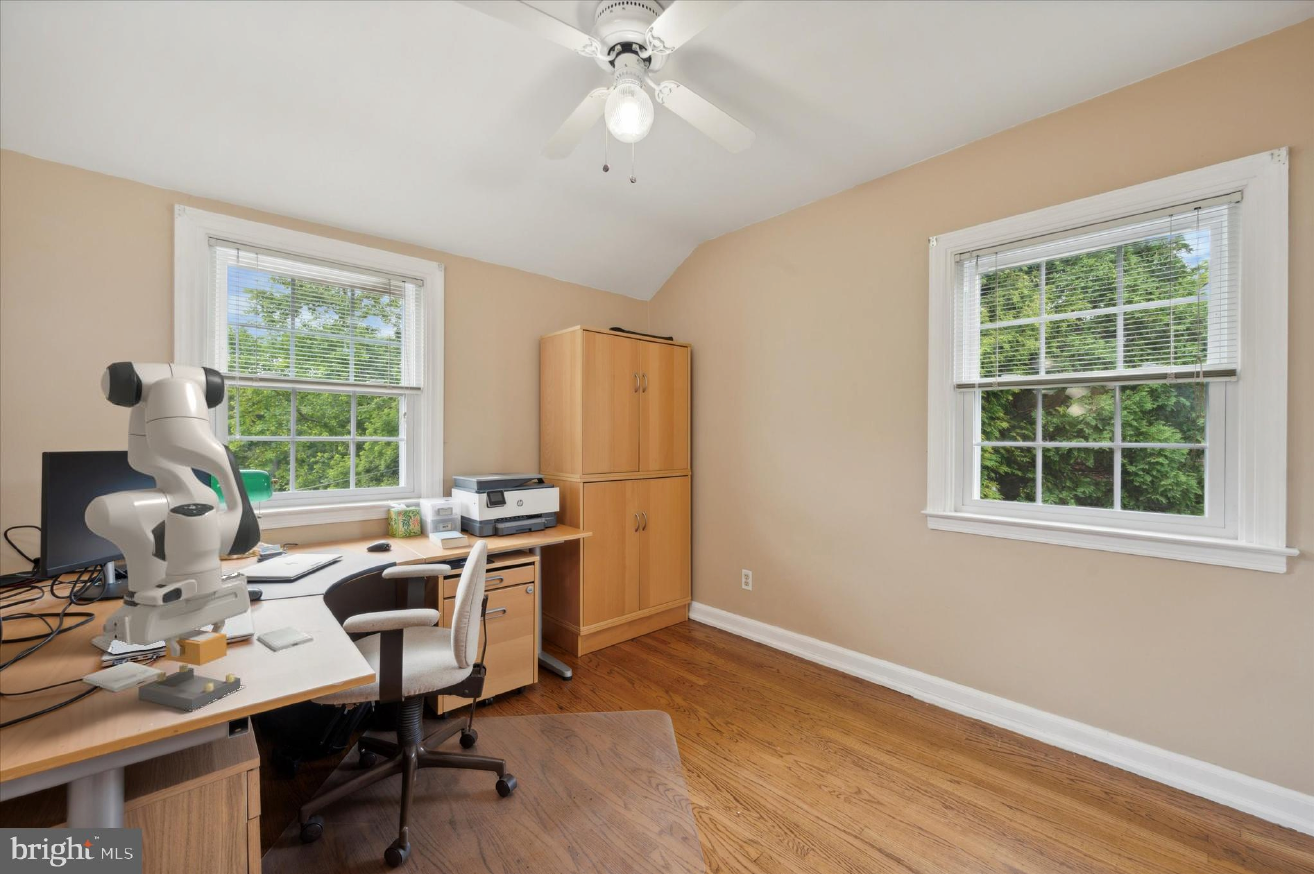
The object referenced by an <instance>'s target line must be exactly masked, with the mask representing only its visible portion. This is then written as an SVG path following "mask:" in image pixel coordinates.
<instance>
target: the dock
mask: <svg viewBox="0 0 1314 874" xmlns="http://www.w3.org/2000/svg"><path fill="white" fill-rule="evenodd" d="M194 672H195V671H194V668H193V667H189V664H187V663H182V664H181V665H179V666H178V671H177V672H173V673H171V674H169V675H167V672H163V673H159V674H157V677H156V680H153V681H151V682H150V681H149V682H148V683H145V684H143V685H140V686H138V699H139V700H142V701H147V702H151V703H155V704H159V705H163V704H164V705H163V706H169V707H172V708H175V709H179V708H181V709H180V710H183V709H186V710H185V711H187V710H191V711H190V712H192V711H193V710H195V709H197V708H199V709H201V708H202V707H201V706H204V705H206V704H208V703H209V702H212V701H213V700H215V699H219V698H220V697H223V696H224V695H227V694H228V693H231V692H233V691H235V690H237V689H239V688H240V686H245V685H244V684H241V678H240V677H235V673H227V674H226V675H225V680H220V679H216V678H215V679H214V678H210V677H206V676H201V675H197V674H195V673H194ZM241 688H242V687H241ZM227 696H228V695H227ZM223 698H224V697H223ZM219 700H220V699H219ZM212 703H213V702H212ZM208 705H209V704H208ZM206 706H207V705H206ZM200 707H201V708H200ZM204 707H205V706H204ZM197 710H198V709H197ZM195 711H196V710H195ZM193 712H194V711H193Z"/></svg>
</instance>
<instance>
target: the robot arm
mask: <svg viewBox="0 0 1314 874" xmlns="http://www.w3.org/2000/svg"><path fill="white" fill-rule="evenodd" d="M226 385H227V383H226V381H225V379H224V376H223V374H222V373H221V372H220V371H219V370H217V369H214V368H212V367H206V366H201V367H198V366H196V365H195V366H194V365H187V364H181V363H173V362H172V363H171V362H167V363H162V362H161V363H160V362H158V363H157V362H132V361H119V362H118V361H117V362H112V363H111V364H109V365H108V366H107V367H106V369H105V371H104V372H103V373H102V376H101V379H100V387H101V391H102V393H103V395H104V396H105V399H106V400H107V401H108V402H109V403H110V404H112V405H115V406H118V407H124V408H129V409H131V410H130V415H129V421H128V431H127V432H128V435H127V436H128V439H127V440H128V441H127V462H128V464H129V466H131V468H132V469H133V470H135V471H137V472H139V473H142V474H144V475H148V476H151V477H153V478H154V480H155V481H156V482H155V483H156V487H154V488H142V489H131V490H121V491H117V492H113V493H112V492H111V493H108V494H105V495H100V496H97V497H95V498H94V499H92V500H91V502H90V503H89V504H88V506H87V507H86V509H85V512H84V513H85V514H84V521H85V523H86V526H87V528H88V529H89V530H90V531H91V532H93V534H95V535H97V536H98V537H101V538H104V539H106V540H108V541H109V542H111V543H112V544H114V545H115V546H116V547H117V548H118V549H119V551H120V552H121V553H122V555H123V556H124V559H125V563H126V564H125V565H126V570H127V580H128V581H127V583H128V588H126V589H124V590H122V592H125V593H122V595H123V602H122V603H123V604H122V605H121V606H119V608H117V609H116V610H115V611H114V612H113V613H112V614H110V615H108V617H107V618H105V619H106V620H105V622H104V623H103V625H102V631H103V634H100V635H98V636H96V637H94V638H92V639H91V644H92V645H94V646H96V647H97V648H99V649H101V650H103V651H105V652H106V650H108V649H109V647H110V645H111V642H112V641H113V640H118V641H122V642H125V643H127V645H133V644H138V645H144V646H147V645H150V644H153V643H156V642H159V641H164V642H165V643H166V644H167V645H168V646H169V647H170V648H171V656H172V657H179V656H181V655H184V654H185V651H184V650H185V646H181V645H178V644H177V643H176V641H177V640H179V635H180V634H183V633H186V632H189V631H192V630H195V629H198V628H200V629H202V628H204V627H208V626H212V629H211V631H210V632H215V633H222V631H223V629H224V627H225V625H226V620H228V619H230V618H234V617H238V616H240V615H243V614H245V613H247V612H248V611H249V609H250V607H251V603H250V601H251V600H250V595H249V590H248V589H249V588H248V587H247V586H248V578H247V576H246V575H245V574H244V573H242V572H241V573H240V572H238V571H236V572H233V573H231V574H226V575H225V574H224V575H223V574H222V573H223V572H222V571H223V568H222V562H221V559H220V557H224V556H227V557H228V556H239V555H240V556H242V555H246V554H247V553H249V552H250V551H252V550H253V549H254V548H256V546H257V545H258V544H259V543H260V541H261V538H262V537H261V535H262V529H261V524H260V522H259V521H258V518H257V516H256V513H255V511H254V509H253V506H252V505H251V504H252V503H251V502H250V501H251V500H250V497H249V495H248V493H247V492H248V491H247V488H246V484H245V483H244V479H243V477H242V474H241V471H240V468H239V465H238V462H237V460H236V456H235V455H234V453H233V451H232V449H231V448H230V447H229V446H228V445H227V444H224V443H221V442H220V441H219V440H218V439H217V437H216V435H215V434H214V433H213V430H212V427H211V419H210V412H209V409H214V408H216V407H217V406H220V405H221V404H222V403H223V401H224V399H225V396H226V392H227V386H226ZM192 469H195V470H198V471H202V472H205V473H208V474H210V475H211V476H213V477H214V478H215V479H216V480H217V481H218V484H219V487H220V490H221V493H222V495H223V500H224V502H225V505H226V508H227V510H226V511H224V512H219V510H220V497H219V496H218V493H217V492H215V490H214V489H213V488H211V487H209V486H208V485H205V484H204V483H203V482H202V481H201V480H200V479H198V477H197V476H196V475H195V473H194V472H193V470H192ZM198 630H199V629H198Z"/></svg>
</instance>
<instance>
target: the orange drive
mask: <svg viewBox="0 0 1314 874" xmlns="http://www.w3.org/2000/svg"><path fill="white" fill-rule="evenodd" d="M176 643H177V644H178V645H181V646H185V650H184V651H185V654H184V655H181V656H179V657H172V656H171V648H170V647H169V646H168V645H167V644H166V643H165V646H166V647H165V660H167V661H173V662H178V663H182V664H188V665H194V666H198V667H201V666H204V665H206V664H208V663H211V662H215V661H216V660H219V659H222V658H224V657H227V655H228V652H227V651H228V650H227V648H228V647H227V633H226V634H225V633H222V632H221V633H215V632H211V631H208V630H202V629H201V630H200V629H198V630H196V629H195V630H192V631H189V632H186V633H183V634H180V635H179V640H177V641H176Z"/></svg>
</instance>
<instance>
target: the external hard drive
mask: <svg viewBox="0 0 1314 874" xmlns="http://www.w3.org/2000/svg"><path fill="white" fill-rule="evenodd" d="M163 672H164V670H160V669H157V668H154V667H149V666H147V665H143V664H140V663H136V662H133V661H127V662H124V663H120V664H116V665H115V666H112V667H108V668H105V669H101V670H98V671H96V672H93V673H90V674H87V675H85V676H83V677H82V682H84V683H86V684H91V685H93V686H96V687H99V686H100V687H99V688H102V689H104V690H105V689H106V690H108V691H112V692H115V693H117V692H121V691H123V690H126V689H128V688H131V687H134V686H136V685H138V684H141V683H144V682H148V681H151V680H154V679H157V674H159V673H163Z"/></svg>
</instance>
